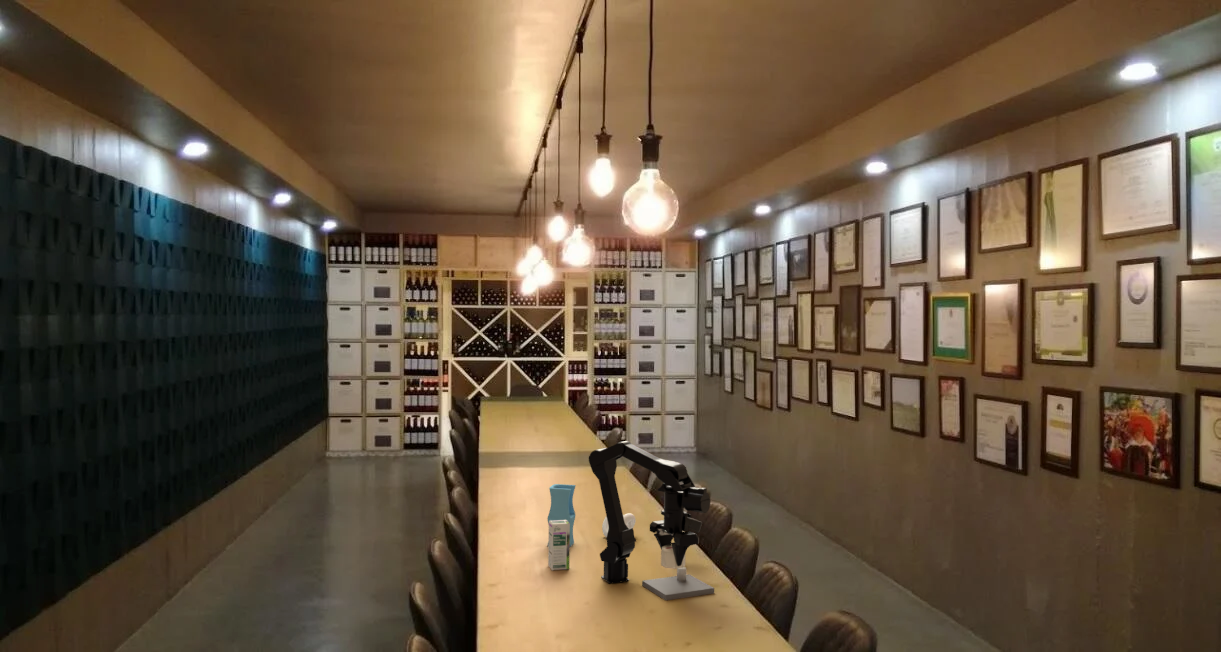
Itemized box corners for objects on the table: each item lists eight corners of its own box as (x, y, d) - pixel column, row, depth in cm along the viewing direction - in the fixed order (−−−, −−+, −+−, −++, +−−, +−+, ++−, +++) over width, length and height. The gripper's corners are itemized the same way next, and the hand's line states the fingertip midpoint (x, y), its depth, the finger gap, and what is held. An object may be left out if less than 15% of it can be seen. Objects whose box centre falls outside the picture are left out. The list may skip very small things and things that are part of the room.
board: (665, 600, 232) (665, 582, 232) (642, 585, 245) (642, 568, 245) (714, 593, 239) (714, 575, 239) (689, 579, 252) (689, 562, 252)
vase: (569, 548, 284) (570, 489, 284) (547, 546, 286) (548, 488, 286) (574, 542, 292) (575, 485, 292) (553, 540, 294) (554, 483, 294)
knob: (668, 569, 235) (669, 551, 235) (657, 563, 241) (657, 545, 240) (688, 567, 237) (689, 548, 237) (677, 560, 243) (677, 543, 243)
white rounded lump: (595, 539, 297) (595, 514, 297) (610, 531, 307) (611, 507, 307) (623, 543, 291) (623, 518, 291) (638, 536, 302) (638, 511, 302)
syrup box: (551, 570, 258) (552, 524, 258) (547, 565, 264) (548, 519, 264) (569, 569, 260) (570, 523, 260) (565, 564, 265) (566, 518, 265)
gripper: (715, 512, 234) (714, 568, 234) (681, 499, 251) (681, 551, 251) (681, 516, 229) (680, 572, 229) (649, 502, 246) (648, 555, 246)
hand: (673, 562), depth 239 cm, fingers closed on knob, 6 cm apart
